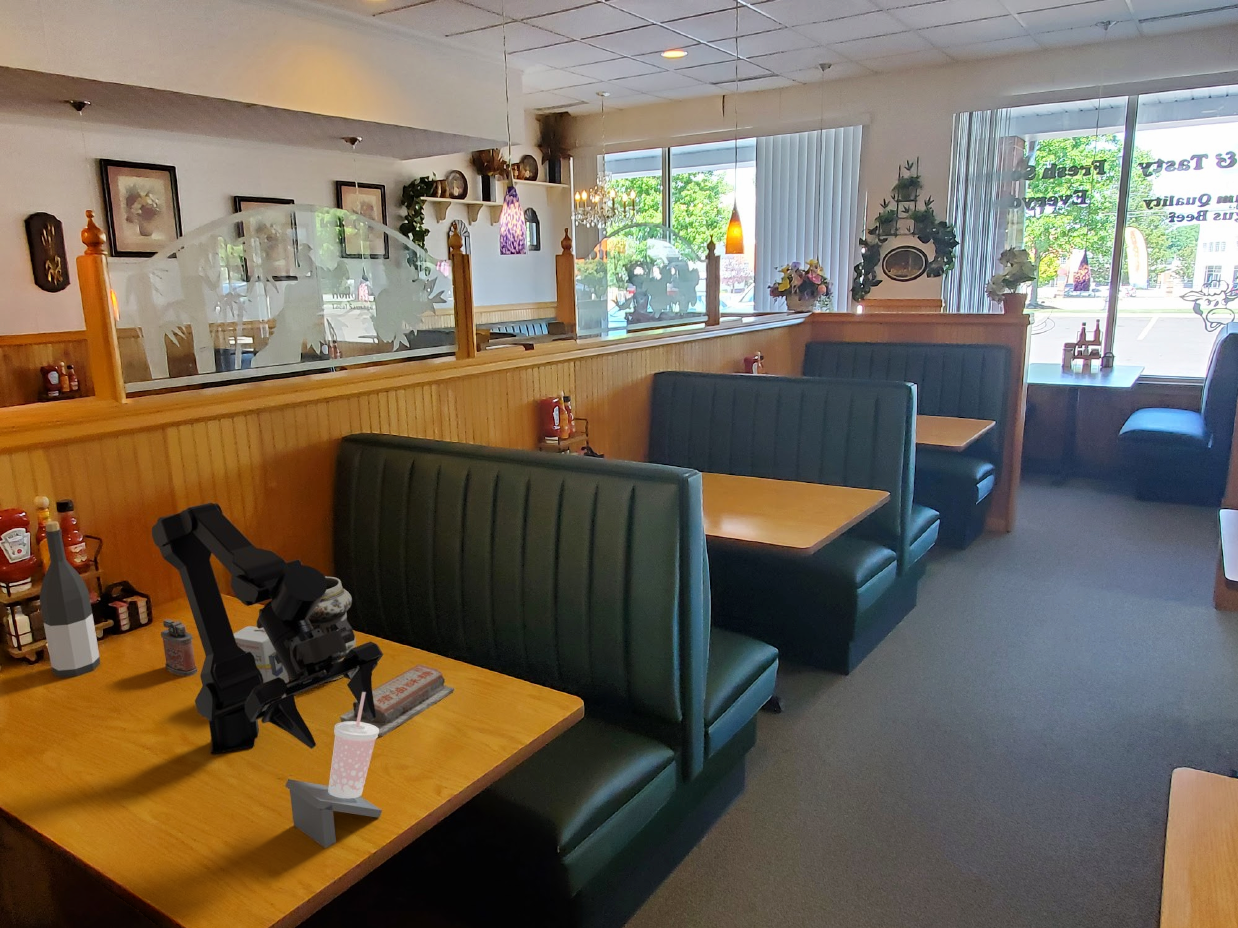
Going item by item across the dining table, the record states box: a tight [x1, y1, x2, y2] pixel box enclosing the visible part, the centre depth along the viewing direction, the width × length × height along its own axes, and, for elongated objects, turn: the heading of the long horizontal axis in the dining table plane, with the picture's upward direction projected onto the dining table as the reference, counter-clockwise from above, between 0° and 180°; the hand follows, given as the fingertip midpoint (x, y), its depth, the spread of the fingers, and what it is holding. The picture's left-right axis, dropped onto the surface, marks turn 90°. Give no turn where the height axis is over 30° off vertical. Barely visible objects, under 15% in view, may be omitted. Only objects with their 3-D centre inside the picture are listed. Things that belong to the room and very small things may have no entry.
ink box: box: [233, 625, 290, 683], centre depth 157 cm, size 9×5×12 cm, turn 68°
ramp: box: [284, 778, 383, 849], centre depth 120 cm, size 10×8×7 cm
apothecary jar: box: [308, 576, 357, 683], centre depth 165 cm, size 12×12×18 cm
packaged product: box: [339, 664, 455, 737], centre depth 152 cm, size 18×5×10 cm
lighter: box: [160, 618, 198, 677], centre depth 168 cm, size 8×3×10 cm, turn 58°
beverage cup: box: [328, 692, 379, 799], centre depth 121 cm, size 6×6×14 cm
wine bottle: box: [39, 521, 101, 678], centre depth 167 cm, size 8×8×30 cm
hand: (344, 732), depth 117 cm, fingers open, 9 cm apart
